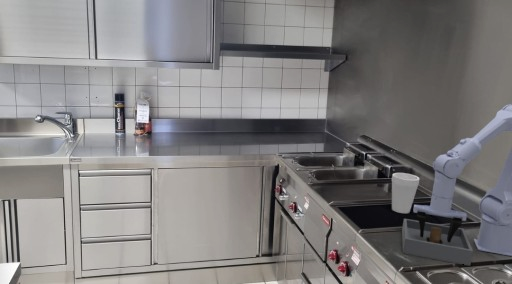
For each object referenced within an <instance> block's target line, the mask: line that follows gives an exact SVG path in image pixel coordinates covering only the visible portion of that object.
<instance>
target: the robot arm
mask: <svg viewBox="0 0 512 284" xmlns="http://www.w3.org/2000/svg"><path fill="white" fill-rule="evenodd" d="M504 132H511V133H512V103H510V104H506V105H504V106H503V108H501V109H500V110H498V111H497V112H496V114H495V117H494V118H493V119H492V120H490V121H489V122H488V123H487V124H486V125H485V126H484V127H483V128H482V129H481V130H480V131H479V132H478V133H476V134H475V135H473V137H471V138H470V137H466V138H462V139H461V140H460V141H459V143H458V144H457V145H455V146H454V147H453V148H452V149H449V150H448V151H447V152H446V153H445V154H440V155H438V156H437V157H436V158H435V160H434V161H433V162H432V169H433V170H434V181H433V187H432V192H431V198H430V205H426V204H425V205H421V204H413V209H412V211H413V213H415V214H416V216H417V217H416V218H417V219H418V220H417V221H419V224H420V237H423V235H424V226H425V222H426V221H427V215H432V216H436V217H441V218H442V217H443V218H450V221H449V226H450V228H449V232H448V236H447V241H448V242H451V239H452V237H453V235H454V233H455V232H456V231H457V229H458V228H460V227H461V226H462V224H463V222H467V217H468V216H467V213H466V212H463V211H459V210H455V209H452V204H453V199H454V193H455V188H456V187H455V186H456V182H457V177H459V176H460V175H462V174H463V171H464V168H465V167H466V165H467V164H468V163H470V162H471V161H472V160H474V158H476V157H477V156H478V155H480V154H481V152H482V147H483V146H485V145H486V144H488V143H489V142H490V141H492V140H493V139H495V138H496V137H498V136H500V134H502V133H504ZM478 210H479V211H480V213H481V214H480V216H481V221H480V226H479V231H478V237H477V239H476V238H473V242H474V244H475V247H476V248H477V250H478V251H482V252H486V253H487V252H488V253H494V254H499V255H505V256H510V257H512V147H511V148H510V151H509V153H508V156H507V157H506V160H505V162H504V165H503V167H502V170H501V172H500V174H499V176H498V179H497V181H496V184H495V187H492V188H490V189H488V190H486V193H485V195H484V196H483V197H482V198H481V199H480V200H479V203H478Z"/></svg>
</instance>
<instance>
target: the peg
mask: <svg viewBox="0 0 512 284" xmlns="http://www.w3.org/2000/svg"><path fill="white" fill-rule="evenodd" d="M441 233H442V229H441V228H438V227H431V233H430V239H429V242H432V243H437V244H440V239H441Z"/></svg>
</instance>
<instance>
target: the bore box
mask: <svg viewBox="0 0 512 284" xmlns="http://www.w3.org/2000/svg"><path fill="white" fill-rule="evenodd" d="M431 227H438V228H441V229H442V233H441V239H440V244H437V243H432V242H429V239H430V233H431ZM449 228H450V225H442V224H438V223H431V222H426V221H425V226H424V235H423V237H420V224H419V220H416V219H409V218H403V223H402V228H401V239H402V240H401V241H402V242H401V243H402V254H407V255H411V256H416V257H421V258H427V259H432V260H437V261H442V262H448V263H452V264H457V263H458V265H462V264H464V266H469V267H470V266H471V263H472V259H473V253H474V250H473V247H472V245H471V243H470V240H469V238H468V236H467V232H466V231H465V229H464V228H463V227H462V228H460V227H459V228H458V229H457V231H456V232H455V233H454V235H453V237H452V239H451V242H448V241H447V236H448V232H449Z"/></svg>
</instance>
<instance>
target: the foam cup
mask: <svg viewBox="0 0 512 284" xmlns="http://www.w3.org/2000/svg"><path fill="white" fill-rule="evenodd" d="M419 185H420V177H419V176H417V175H414V174H411V173H405V172H395V173H392V175H391V210H392V211H394V212H396V213H399V214H410V212H411V209H412V207H413V206H412V205H413V203H414V198H415V196H416V192H417V189H418V187H419Z"/></svg>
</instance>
